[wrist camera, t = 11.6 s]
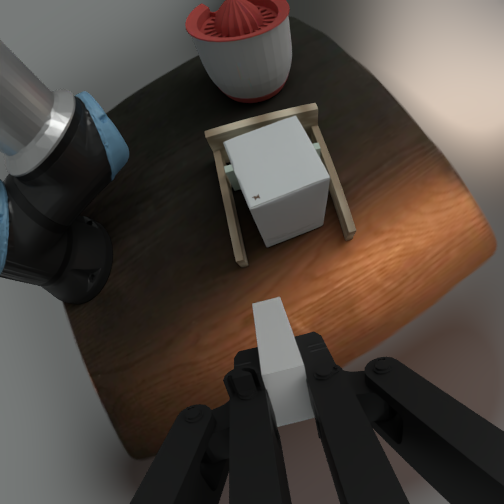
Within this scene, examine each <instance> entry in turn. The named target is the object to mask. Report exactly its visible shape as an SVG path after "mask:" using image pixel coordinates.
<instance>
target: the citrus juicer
mask: <svg viewBox="0 0 504 504" xmlns="http://www.w3.org/2000/svg"><path fill="white" fill-rule="evenodd" d="M289 10H290V9H289V5H288V3H287V1H286V0H226V1H224V3H223V4H222V5H221V7H220V8H219V10H218V11H216V12H210V10H209V7H207V6H205V5H203V4H200V5H199V6H197V7H196V8H195V9H194V10H193V11H192V12H191V13H190V14H189V16H188V18H187V20H186V30H187V32H188V33H189V34H190V35H191V37H192V39H193V41H194V44H195V47H196V49H197V51H198V54H199V56H200V58H201V61H202V63H203V65H204V67H205V69H206V71H207V73H208V75H209V77H210V78H211V79H212V81H213V82H214V83H215V84H216V85H217V86H218V88H219V89H220V90H221V91H222V92H223V93H224V94H225V95H227V96H228V97H230V98H231V99H233V100H235V101H238V102H243V103H256V102H261V101H264V100H267V99H269V98H271V97H273V96H275V95H276V94H277V93H278V92H279V91H280V90H281V89H282V88H283V86H284V84H285V82H286V80H287V78H288V74H289V70H290V66H291V60H292V45H291V36H290V26H289V18H288V14H289Z"/></svg>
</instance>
